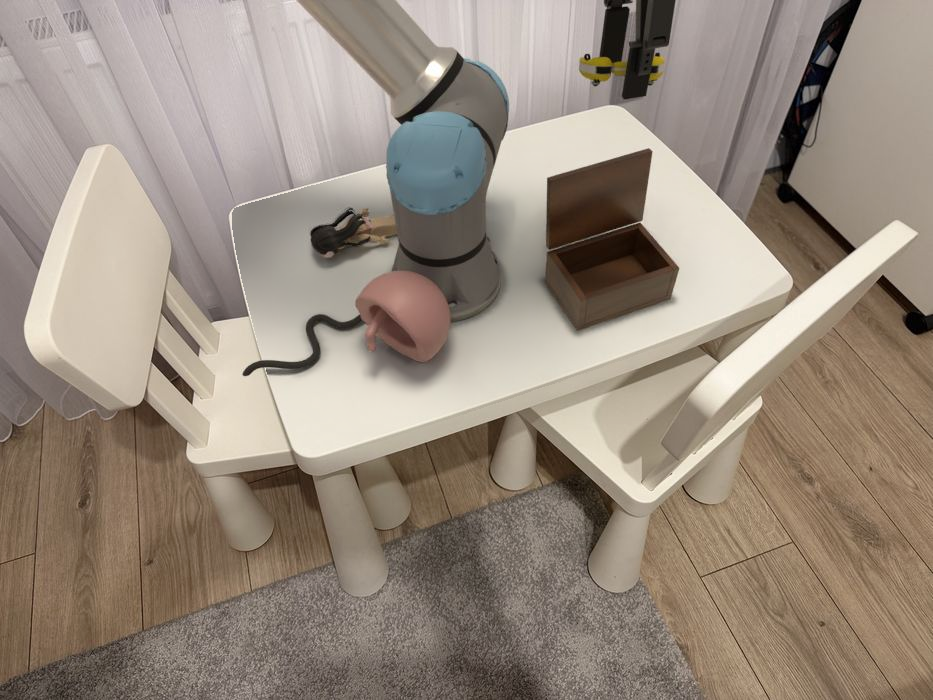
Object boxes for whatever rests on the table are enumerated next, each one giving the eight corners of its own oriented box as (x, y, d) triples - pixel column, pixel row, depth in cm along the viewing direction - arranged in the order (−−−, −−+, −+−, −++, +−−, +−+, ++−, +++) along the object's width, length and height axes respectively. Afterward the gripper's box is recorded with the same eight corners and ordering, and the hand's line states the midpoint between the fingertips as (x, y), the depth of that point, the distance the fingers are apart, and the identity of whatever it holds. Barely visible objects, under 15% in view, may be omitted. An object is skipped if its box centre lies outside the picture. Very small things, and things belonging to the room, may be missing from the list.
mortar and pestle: (479, 347, 82) (402, 400, 83) (451, 305, 92) (382, 353, 92) (429, 275, 75) (345, 333, 76) (405, 238, 85) (330, 289, 86)
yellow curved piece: (583, 90, 79) (585, 57, 77) (577, 82, 84) (579, 51, 82) (669, 89, 78) (673, 56, 76) (658, 81, 84) (662, 50, 82)
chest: (670, 298, 92) (679, 268, 88) (577, 331, 89) (581, 301, 85) (633, 253, 98) (640, 221, 93) (544, 282, 95) (546, 251, 90)
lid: (653, 151, 85) (649, 147, 85) (550, 181, 82) (546, 177, 83) (642, 220, 93) (639, 217, 93) (548, 250, 90) (545, 246, 90)
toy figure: (393, 208, 107) (305, 242, 102) (392, 178, 101) (299, 211, 96) (415, 238, 103) (325, 274, 98) (416, 208, 98) (320, 244, 93)
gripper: (747, -119, 58) (686, 120, 76) (653, -185, 70) (620, 34, 88) (664, -109, 57) (622, 130, 75) (584, -177, 69) (565, 42, 87)
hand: (621, 78), depth 81 cm, fingers closed on yellow curved piece, 7 cm apart
